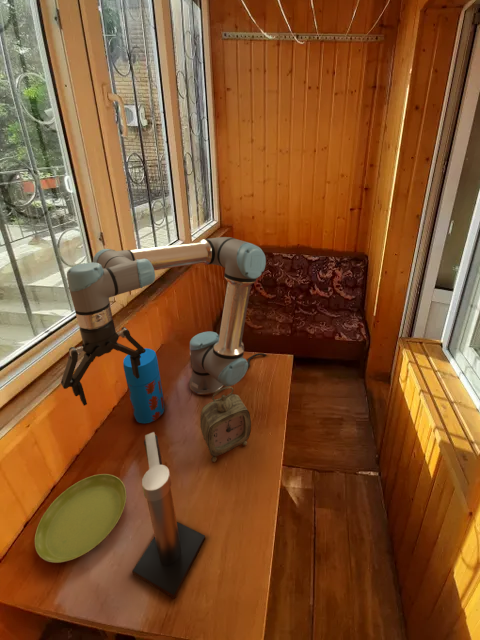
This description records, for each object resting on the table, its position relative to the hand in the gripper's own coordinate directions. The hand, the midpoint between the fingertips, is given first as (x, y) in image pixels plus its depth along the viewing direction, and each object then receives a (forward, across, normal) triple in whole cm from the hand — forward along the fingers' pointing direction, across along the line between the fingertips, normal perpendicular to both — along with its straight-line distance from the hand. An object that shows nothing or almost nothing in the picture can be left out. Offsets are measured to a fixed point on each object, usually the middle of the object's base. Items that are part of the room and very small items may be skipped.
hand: (111, 388), depth 87 cm
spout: (+26, 0, -24) cm, 35 cm away
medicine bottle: (+32, +43, +29) cm, 61 cm away
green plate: (+32, -14, -6) cm, 35 cm away
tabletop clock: (+32, +25, -16) cm, 44 cm away
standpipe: (+32, -2, -30) cm, 44 cm away
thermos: (+32, +14, +17) cm, 39 cm away
